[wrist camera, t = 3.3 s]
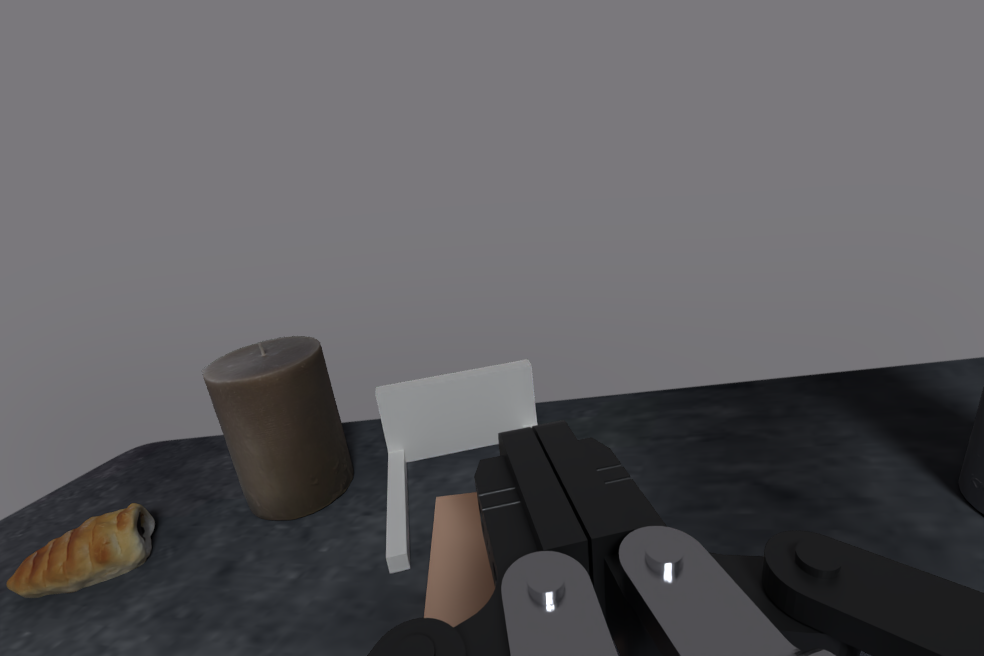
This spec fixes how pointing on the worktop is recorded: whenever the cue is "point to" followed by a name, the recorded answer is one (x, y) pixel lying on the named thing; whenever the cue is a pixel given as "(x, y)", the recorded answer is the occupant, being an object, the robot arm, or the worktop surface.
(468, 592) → the wooden block
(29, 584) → the pastry
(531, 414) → the white frame piece
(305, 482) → the pillar candle
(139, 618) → the worktop surface
